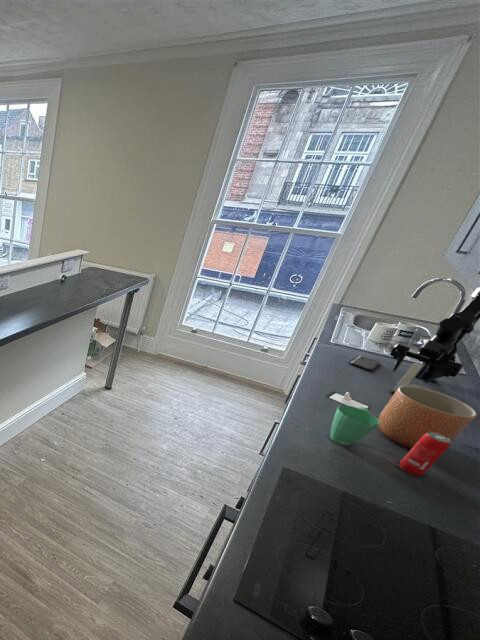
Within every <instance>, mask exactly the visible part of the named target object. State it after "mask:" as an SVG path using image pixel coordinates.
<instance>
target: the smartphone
mask: <svg viewBox="0 0 480 640" xmlns="http://www.w3.org/2000/svg"><path fill="white" fill-rule="evenodd" d="M380 364H381V362H380V361H378V360H376V359H372V358H369V357H367V356H364V355H360V356H358V357H356V358H355V359H353V360H352V361H351V362H350V365H352V366H355V367H357V368H360V369H364V370H366V371H371V372H372V371H373V370H374V369H375V368H376V367H378V366H379V365H380Z"/></svg>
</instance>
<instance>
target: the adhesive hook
mask: <svg viewBox="0 0 480 640" xmlns="http://www.w3.org/2000/svg"><path fill="white" fill-rule="evenodd" d="M350 396H351V394H350V391H347V392H346V393H345V394H344V395H343V394H340V393H337V392H335V393H334V394H332V395H331V396H329V397H328V399H331V400H333V401H336V402H339V403H341V404H342V405H346V406H352V407H356V408H360V407H364V408H367V409H368V408H369V406H368V405H366V404H363V403H362V402H359V401H357V400H355V399H352V397H350Z"/></svg>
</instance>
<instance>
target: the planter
mask: <svg viewBox="0 0 480 640" xmlns="http://www.w3.org/2000/svg"><path fill="white" fill-rule="evenodd" d="M477 416H478V413H477V411H476V410H475V409H474V408H473V407H471V406H470V405H468V404H467V403H465V402H464V401H461V400H459V399H457V398H455V397H453V396H450V395H448V394H446V393H442V392H439V391H436V390H434V389H430V388H425V387H421V386H415V385H408V386H401V387H399V388H398V389H397V390H396V392H395V393H394V394H392V396H391V397H390V399H389V400H388V402H387V403H386V404H385V406H384V408H383V409H382V411H381V412H380V414H379V416H378V419H379V421H380V424H379V425H378V426H377V427H378V428H379V430H380V432H381V433H382V434H383V435H384V436H385V437H386V438H387V439H388V440H390V441H392V442H394V443H395V444H397V445H400V446H402V447H404V448H408V449H410V450H411V449H412V448H413V447H414V445H415V444H416V443H417V442H418V441H419V440H420V438H421V437H422V436H423V435H424V434H426V433H427V432H434V433H438V434H440V435H443V436H445V437H447V438H448V439H449V440H450V441H451V442H452V441H453V440H455V439H456V438H457V437H458V436H459V435H460V434H461V433H462V432H463V431H464V430H465V429H466V428H467V427H468V426H469V425H470V424H471V423H472V422H473V421H474V420H475V418H476V417H477Z"/></svg>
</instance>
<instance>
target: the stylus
mask: <svg viewBox="0 0 480 640" xmlns="http://www.w3.org/2000/svg"><path fill="white" fill-rule="evenodd" d="M423 366H424V365H422V363H421V364H420V363H418V362H413V363H412V365H411V366H410V367H409V368H408V370H407V371H406V372H405V374H403V377H401V379H400V380H399V381H398V383H397V384H396V386H394V389H392V391H391V392H390V393H391V394H392V395H394V393H395V392H396V390H397V389H398V388H399V387H401V386H410V384H411V383H412V381H413V380H414V379H415V378H416V377H415V376H416V375H417V374H418V372H419V371H420V370H421V368H422V367H423Z"/></svg>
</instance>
